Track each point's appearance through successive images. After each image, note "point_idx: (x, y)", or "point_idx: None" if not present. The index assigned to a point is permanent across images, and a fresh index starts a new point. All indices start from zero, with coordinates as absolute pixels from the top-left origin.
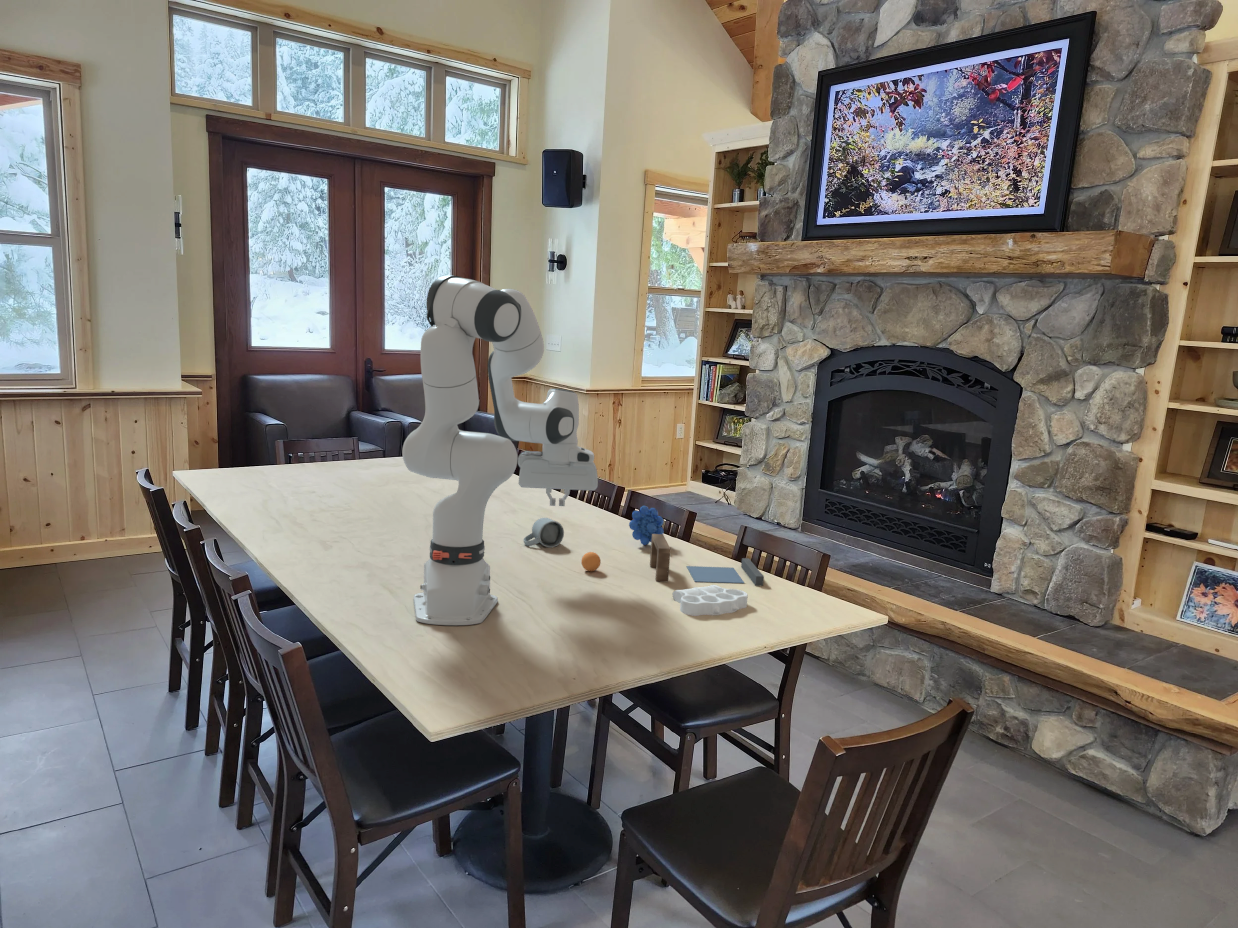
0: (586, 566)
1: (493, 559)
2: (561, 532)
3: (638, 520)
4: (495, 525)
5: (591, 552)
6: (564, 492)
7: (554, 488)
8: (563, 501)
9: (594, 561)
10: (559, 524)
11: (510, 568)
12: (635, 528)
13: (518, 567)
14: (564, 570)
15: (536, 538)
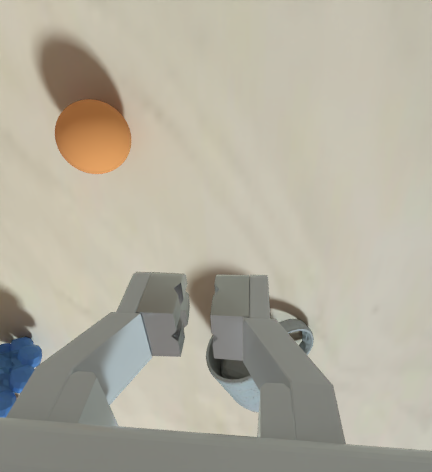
0: (108, 104)
1: (429, 211)
2: (213, 358)
3: (2, 389)
4: (358, 424)
5: (79, 149)
6: (90, 382)
7: (215, 437)
8: (134, 299)
9: (69, 106)
10: (217, 374)
11: (391, 118)
12: (19, 367)
13: (358, 134)
14: (194, 120)
15: None
